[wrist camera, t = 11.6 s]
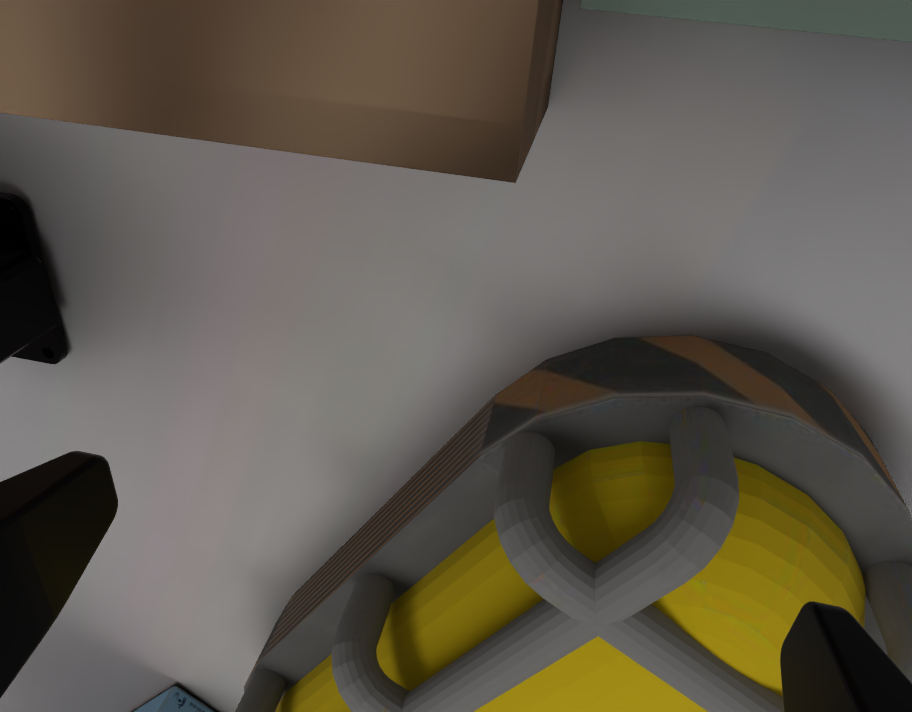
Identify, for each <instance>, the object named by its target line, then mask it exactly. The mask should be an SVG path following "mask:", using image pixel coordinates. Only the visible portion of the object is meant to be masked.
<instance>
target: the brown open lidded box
mask: <svg viewBox="0 0 912 712" xmlns="http://www.w3.org/2000/svg"><path fill="white" fill-rule="evenodd" d="M562 3H563V0H0V113H7V114H15V115H22V116H29V117H37V118H44V119H51V120H59V121H66V122H73V123H81V124H88V125H95V126H103V127H110V128H117V129H125V130H132V131H139V132H147V133H154V134H161V135H169V136H176V137H183V138H191V139H198V140H205V141H213V142H220V143H227V144H235V145H242V146H249V147H257V148H264V149H271V150H279V151H286V152H293V153H301V154H308V155H316V156H323V157H330V158H338V159H345V160H352V161H360V162H367V163H374V164H382V165H389V166H396V167H404V168H411V169H418V170H426V171H433V172H440V173H448V174H455V175H462V176H470V177H477V178H484V179H492V180H499V181H506V182H514V183H516V180H517V178H518V176H519V173H520V171H521V169H522V166H523V164H524V162H525V159H526V157H527V155H528V152H529V150H530V148H531V145H532V143H533V141H534V138H535V136H536V133H537V131H538V129H539V126H540V124H541V122H542V119H543V117H544V115H545V112H546V110H547V108H548V101H549V94H550V87H551V80H552V73H553V66H554V59H555V52H556V45H557V38H558V31H559V24H560V17H561V10H562Z"/></svg>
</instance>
